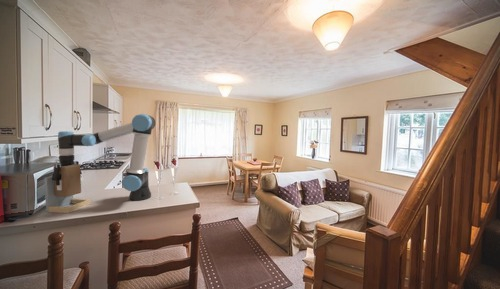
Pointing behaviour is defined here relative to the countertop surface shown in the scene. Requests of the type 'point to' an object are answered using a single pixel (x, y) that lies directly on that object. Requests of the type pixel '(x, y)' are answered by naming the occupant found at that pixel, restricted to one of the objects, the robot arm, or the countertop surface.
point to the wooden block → (69, 181)
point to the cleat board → (60, 199)
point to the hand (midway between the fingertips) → (68, 187)
